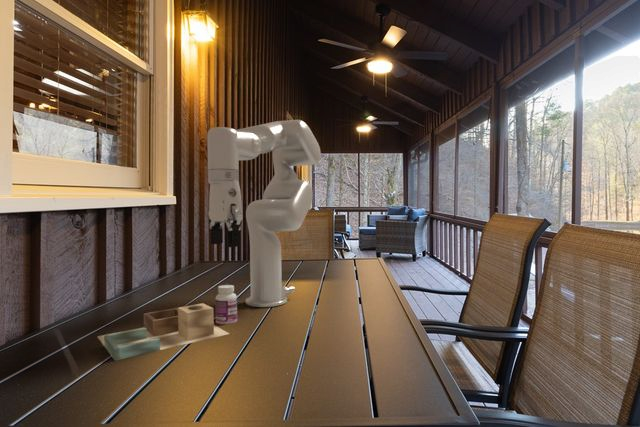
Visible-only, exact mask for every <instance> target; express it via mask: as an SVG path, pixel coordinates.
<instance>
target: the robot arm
mask: <svg viewBox="0 0 640 427" xmlns="http://www.w3.org/2000/svg"><path fill="white" fill-rule="evenodd" d="M270 152H272V161H273V162H272V163H273V169H274V175H273V177H272V179H271V180H270V182H269V183H268V185H267V186H266V188H265V190H264V192H263V196H262V199H257V200H254V201H251V202H250V203H249V204H248V206H247V207H246V210H245V218H246V223H247V230H248V235H249V268H250V269H249V270H250V272H249V273H250V296H248V297H246V299H245V305H247V306H250V307H254V308H255V307H256V308H271V307H278V306H283V305H284V304H287V302H288V297H287V296H286V295H287V294H292V293H295V292H296V288H295V286H288V287H287V286H283V284H282V278H283V276H282V244H281V241H280V239H279V237H278V235H277V234H276V233H275V232H294V231H297V230H298V229H299V228H301V226H302V224H303V222H304V221H305V218H306V217H307V214H308V212H309V210H310V208H311V207H312V206H311V205H312V203H313V196H314V194H313V188H312V185H311V184H310V182H309V181H307V180H304V179H299V176H298V174H297V173H296V172H295V170H294V169H293V168H292V167H298V166H299V167H302V166H303V167H304V166H314V165H316V164H318V163H319V161H320V159H321V147H320V145H319V142H318V141H317V139H316V137H315V135H314V134H313V132H312V130H311V128H310V127H309V125H307V123H306V122H304V121H303V120H301V119H291V120H290V119H289V120H278V121H277V120H276V121H271V122H267V123H263V124H258V125H254V126H253V125H252V126H248V127H247V126H246V127H243V128H238V129H234V128H232V127H225V126H222V127H221V126H217V127H215V126H214V127H212V128H210V129H208V132H207V172H208V173H207V176H208V178H207V181H208V183H207V184H209V197H208V199H209V201H208V202H209V204H208V213H207V214H208V219H209V220H208V222H209V231H210V240H209V241H210V245H220V244H223V242H224V240H223V239H224V238H223V237H224V236H223V235H224V233H223V229H224V228H222V225H223V223H225V224H226V227H227V229H228V230H226V247H227V248H237V247H238V248H239V247H240V246H241V228H242V227H241V225H242V223H243V222H242V221H243V204H242V193H241V188H240V169H239V168H240V167H239V161H251V160H254V159H256V158H258V156H259V155H260V154H261V155H262V154H267V153H270Z"/></svg>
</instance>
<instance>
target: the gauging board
mask: <svg viewBox="0 0 640 427" xmlns="http://www.w3.org/2000/svg"><path fill="white" fill-rule="evenodd" d="M227 335H231V334H230V333H229V332H228V331H226V330H224V329H222V328H220V327H219V326H217V325H215V324H214V334H213V335H209V336H204V337H200V338H196V339H191V340H187V339H186V338H184V337H183V336H181V335H180V334H179V333H178V332H173V333H168V334H163V335H159V336H153V335H152V334H151V333H149V332H148V331H147V328H144V326H143V327H139V328H133V329H128V330H123V331H118V332H112V333H107V334H104V335H103V334H102V335H98V336H96V337H97V339H98V340H99V341H100V343H101V344H102V346H103V347H104V348H105V349H106V350H107V352H108V353H109V354H110V356H111V357H112V358H113V360H114V361H119V360H123V359H128V358H133V357H136V356H140V355H145V354H149V353H154V352H159V351H163V350H167V349H171V348H174V347H176V348H177V347H179V346H183V345H188V344H193V343H197V342H201V341H205V340H209V339H213V338H218V337H222V336H227Z"/></svg>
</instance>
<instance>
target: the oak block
mask: <svg viewBox="0 0 640 427" xmlns="http://www.w3.org/2000/svg"><path fill="white" fill-rule="evenodd" d="M177 308H178V333H179V334H180V335H181V336H183V337H184V338H186V339H187V340H191V339H196V338H200V337H204V336H209V335H213V334H214V325H215V323H214V320H215V319H214V318H215V317H214V314H215V312H214V307H212V306H209V305H207V304H205V303H204V302H202V303H197V304H193V305H191V304H190V305H186V306H180V307H177Z"/></svg>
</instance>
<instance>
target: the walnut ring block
mask: <svg viewBox="0 0 640 427" xmlns="http://www.w3.org/2000/svg"><path fill="white" fill-rule="evenodd" d="M178 308H179V307H174V308H168V309H163V310H156V311H151V312H146V313H143V327H144V328H147V331H148V332H149V333H151V334H152V335H153V336H159V335H163V334H168V333H173V332H178Z"/></svg>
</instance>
